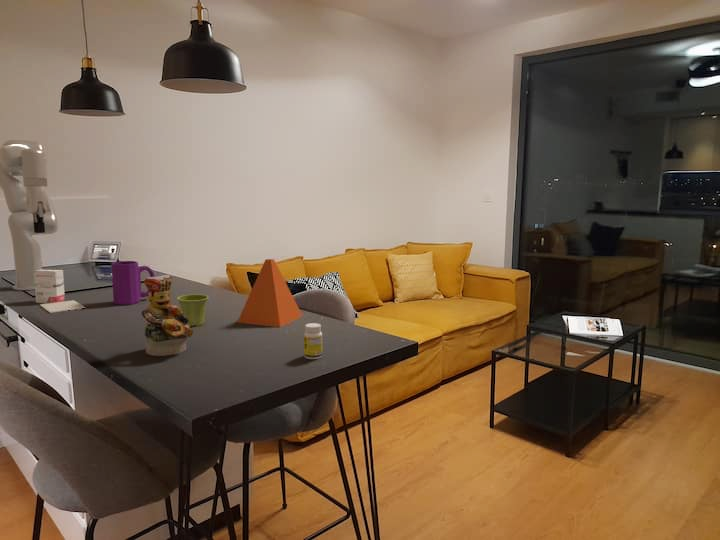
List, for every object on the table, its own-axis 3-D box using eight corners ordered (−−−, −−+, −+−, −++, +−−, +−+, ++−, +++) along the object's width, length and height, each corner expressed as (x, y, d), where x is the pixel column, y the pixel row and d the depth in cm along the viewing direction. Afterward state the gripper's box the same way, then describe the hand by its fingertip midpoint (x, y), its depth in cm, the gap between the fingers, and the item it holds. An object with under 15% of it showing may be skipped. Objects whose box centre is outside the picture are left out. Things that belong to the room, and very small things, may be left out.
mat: (40, 305, 189) (39, 304, 189) (73, 301, 197) (73, 300, 197) (50, 313, 178) (50, 312, 178) (85, 308, 186) (85, 307, 186)
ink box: (66, 300, 198) (63, 269, 196) (57, 303, 193) (54, 271, 191) (44, 299, 199) (41, 268, 197) (35, 302, 194) (32, 270, 192)
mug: (109, 302, 196) (107, 262, 194) (151, 296, 206) (149, 258, 204) (118, 306, 189) (115, 265, 187) (161, 300, 200) (159, 261, 197)
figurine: (144, 362, 130) (139, 282, 127) (142, 345, 144) (138, 273, 141) (195, 356, 135) (192, 279, 132) (189, 340, 149) (186, 270, 146)
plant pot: (215, 322, 169) (214, 295, 168) (197, 329, 160) (196, 301, 159) (190, 319, 172) (189, 293, 171) (171, 326, 163) (170, 299, 162)
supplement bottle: (304, 353, 138) (304, 322, 137) (322, 353, 138) (322, 322, 137) (303, 359, 133) (303, 327, 132) (322, 359, 134) (322, 327, 132)
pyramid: (236, 322, 169) (235, 261, 166) (262, 312, 184) (260, 255, 181) (280, 327, 164) (279, 264, 161) (302, 316, 178) (302, 257, 175)
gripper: (19, 183, 198) (23, 231, 201) (28, 183, 187) (32, 234, 190) (42, 183, 203) (46, 230, 206) (51, 183, 192) (56, 233, 195)
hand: (39, 232), depth 198 cm, fingers closed
